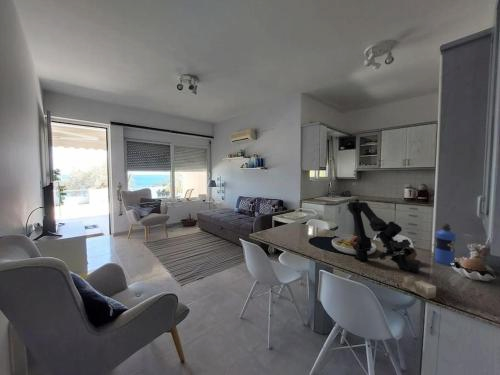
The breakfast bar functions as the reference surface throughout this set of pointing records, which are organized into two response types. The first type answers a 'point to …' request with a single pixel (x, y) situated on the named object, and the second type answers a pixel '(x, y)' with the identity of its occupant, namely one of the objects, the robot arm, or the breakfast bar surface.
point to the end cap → (412, 265)
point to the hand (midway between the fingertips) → (407, 269)
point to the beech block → (419, 286)
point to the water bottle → (445, 245)
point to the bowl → (349, 245)
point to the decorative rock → (411, 254)
